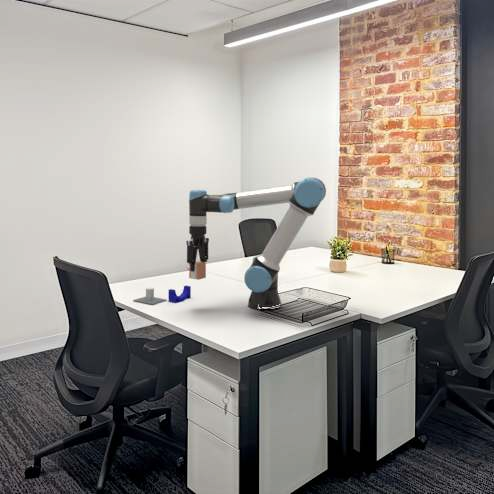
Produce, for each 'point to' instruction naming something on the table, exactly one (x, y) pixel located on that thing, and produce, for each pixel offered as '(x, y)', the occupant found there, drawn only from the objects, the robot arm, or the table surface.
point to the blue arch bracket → (185, 295)
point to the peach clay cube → (199, 270)
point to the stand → (150, 298)
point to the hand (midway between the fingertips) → (197, 277)
